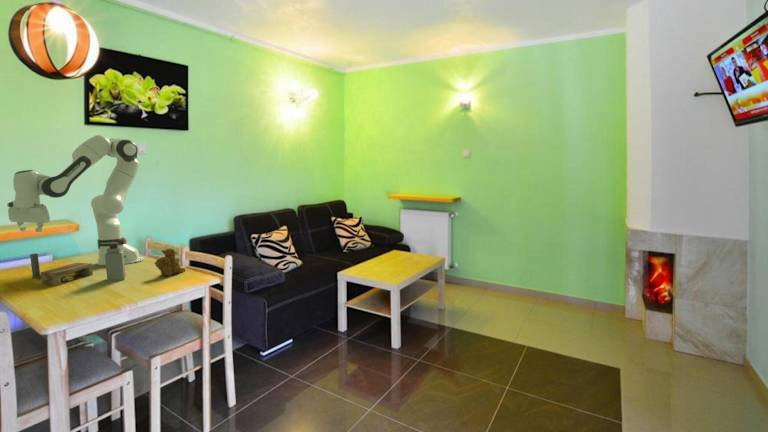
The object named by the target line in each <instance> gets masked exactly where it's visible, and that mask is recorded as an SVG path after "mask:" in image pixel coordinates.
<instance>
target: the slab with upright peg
mask: <svg viewBox="0 0 768 432" xmlns="http://www.w3.org/2000/svg"><path fill="white" fill-rule="evenodd" d="M29 256H30V265H31V266H30V267H31V273H32V274H31V275H32V276H31V278H32V279H41V271H40V263H39V262H40V261H39V254H38V253H30V254H29ZM65 275H66V274H63V275H60V276H61V279H63V278H66V276H65Z"/></svg>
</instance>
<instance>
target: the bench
mask: <svg viewBox="0 0 768 432" xmlns="http://www.w3.org/2000/svg"><path fill="white" fill-rule="evenodd" d="M73 272H74V276H85V277H86V276H88V277H91V276H94V275H93V273H94V272H93V263H91V262H90V263H89V262H75V263H70V264H66V265H62V266H59V267H55V268H52V269H48V270H44V271H40V275H41V278H40V279H41V284H42V285H44V286H45V285H46V286H61V285H62V280H61V279H62V278H61V276H60V275H63V274H64V275H67V274H71V273H73ZM42 285H41V286H42Z"/></svg>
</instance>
